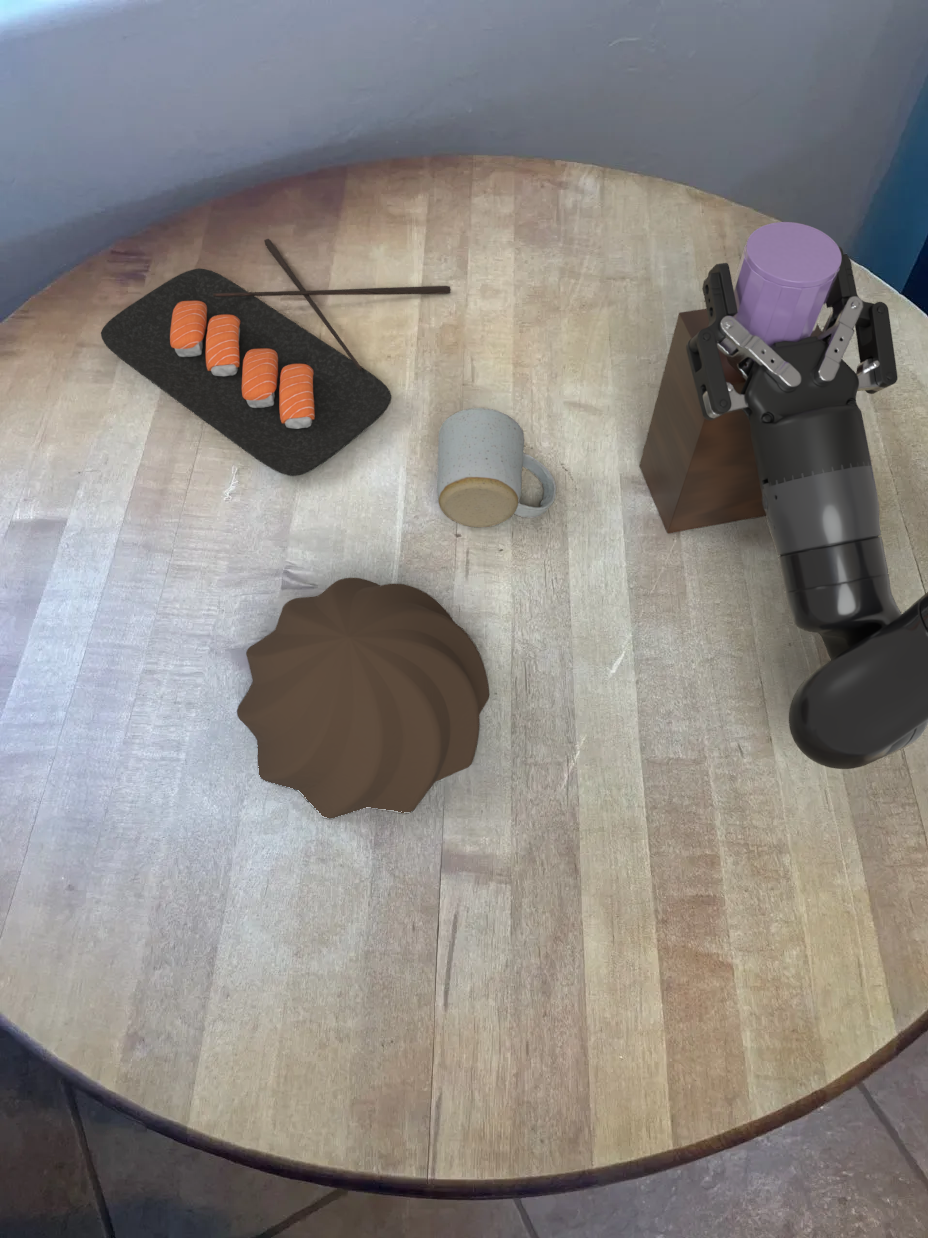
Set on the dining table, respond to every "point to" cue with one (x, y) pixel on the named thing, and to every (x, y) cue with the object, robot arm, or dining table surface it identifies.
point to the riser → (698, 446)
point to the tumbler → (785, 281)
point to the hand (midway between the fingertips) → (773, 259)
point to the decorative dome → (364, 697)
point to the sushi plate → (252, 366)
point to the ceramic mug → (486, 469)
